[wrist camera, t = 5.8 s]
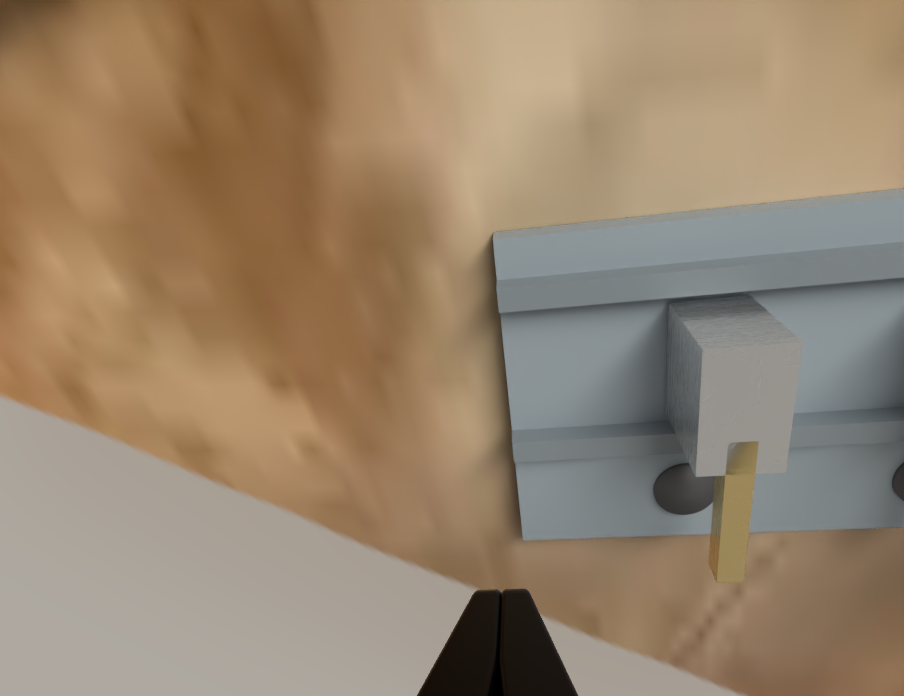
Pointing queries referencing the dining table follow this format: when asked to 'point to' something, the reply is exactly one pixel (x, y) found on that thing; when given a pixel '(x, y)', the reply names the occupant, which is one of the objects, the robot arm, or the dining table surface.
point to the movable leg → (731, 408)
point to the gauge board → (645, 358)
